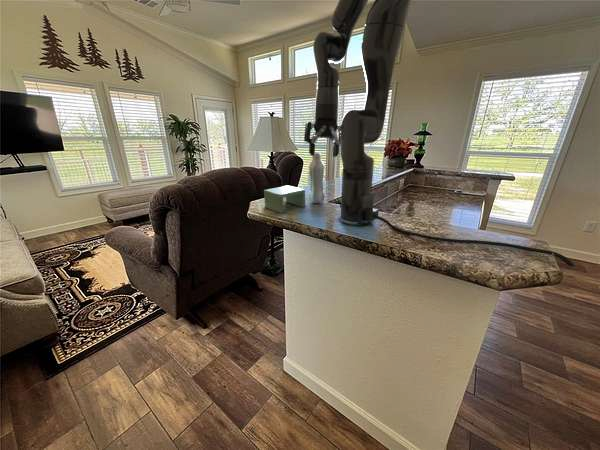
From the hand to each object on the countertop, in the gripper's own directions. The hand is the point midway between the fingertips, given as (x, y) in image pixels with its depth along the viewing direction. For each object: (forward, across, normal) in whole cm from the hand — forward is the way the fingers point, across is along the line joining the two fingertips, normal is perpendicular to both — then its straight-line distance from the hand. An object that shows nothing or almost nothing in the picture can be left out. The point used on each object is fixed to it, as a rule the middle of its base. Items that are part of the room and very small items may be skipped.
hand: (323, 156), depth 82 cm
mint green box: (+20, -10, +12) cm, 26 cm away
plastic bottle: (+19, +4, +12) cm, 23 cm away
